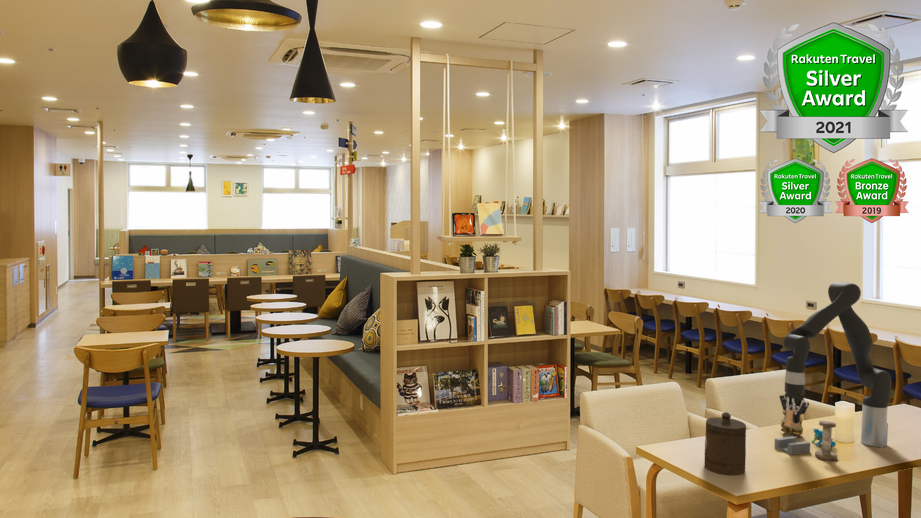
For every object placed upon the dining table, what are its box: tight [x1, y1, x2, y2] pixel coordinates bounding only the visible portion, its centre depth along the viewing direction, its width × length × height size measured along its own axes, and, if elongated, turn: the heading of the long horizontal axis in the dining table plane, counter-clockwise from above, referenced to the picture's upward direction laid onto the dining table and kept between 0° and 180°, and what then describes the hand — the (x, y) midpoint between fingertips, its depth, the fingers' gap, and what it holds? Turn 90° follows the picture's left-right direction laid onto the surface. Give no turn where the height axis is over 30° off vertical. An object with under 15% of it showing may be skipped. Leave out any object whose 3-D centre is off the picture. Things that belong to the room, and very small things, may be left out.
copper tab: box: [784, 409, 803, 429], centre depth 275 cm, size 5×3×7 cm, turn 110°
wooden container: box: [704, 411, 747, 476], centre depth 254 cm, size 15×15×22 cm
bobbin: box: [814, 420, 838, 462], centre depth 267 cm, size 8×8×14 cm
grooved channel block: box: [774, 436, 811, 456], centre depth 276 cm, size 10×9×4 cm
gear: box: [811, 428, 836, 448], centre depth 282 cm, size 11×6×10 cm
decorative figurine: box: [780, 405, 804, 438], centre depth 296 cm, size 10×8×15 cm
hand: (793, 421), depth 275 cm, fingers closed on copper tab, 2 cm apart
